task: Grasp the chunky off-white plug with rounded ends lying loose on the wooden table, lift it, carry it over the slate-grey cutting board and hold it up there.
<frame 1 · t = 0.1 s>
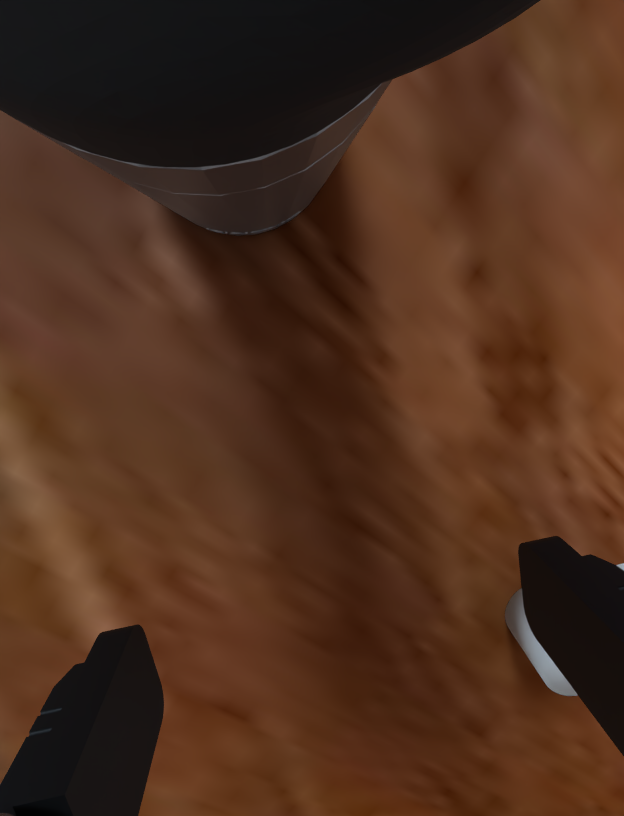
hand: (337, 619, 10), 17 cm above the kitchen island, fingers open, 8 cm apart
rounded plug: (583, 601, 32), on the kitchen island
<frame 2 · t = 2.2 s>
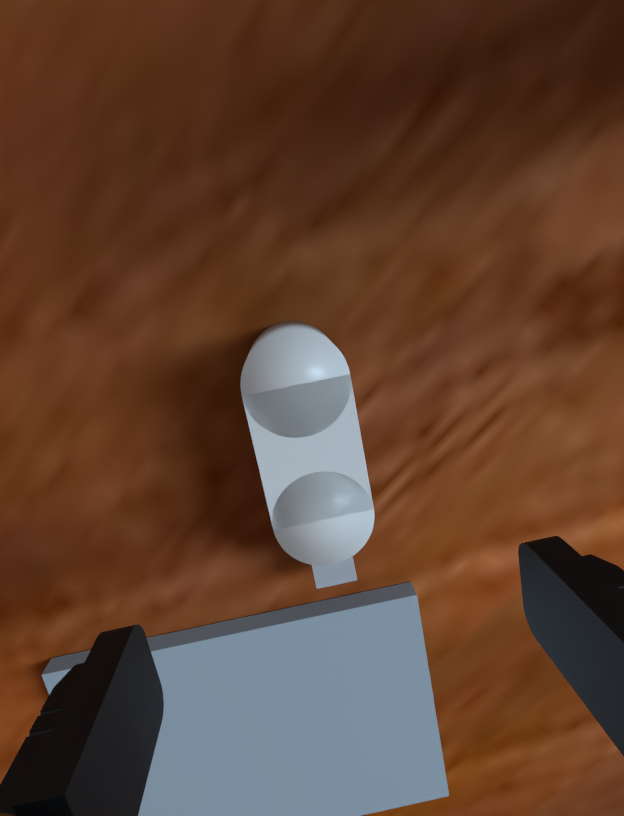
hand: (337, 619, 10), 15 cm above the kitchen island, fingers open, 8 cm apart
rounded plug: (304, 425, 25), on the kitchen island
cutting board: (260, 721, 29), on the kitchen island
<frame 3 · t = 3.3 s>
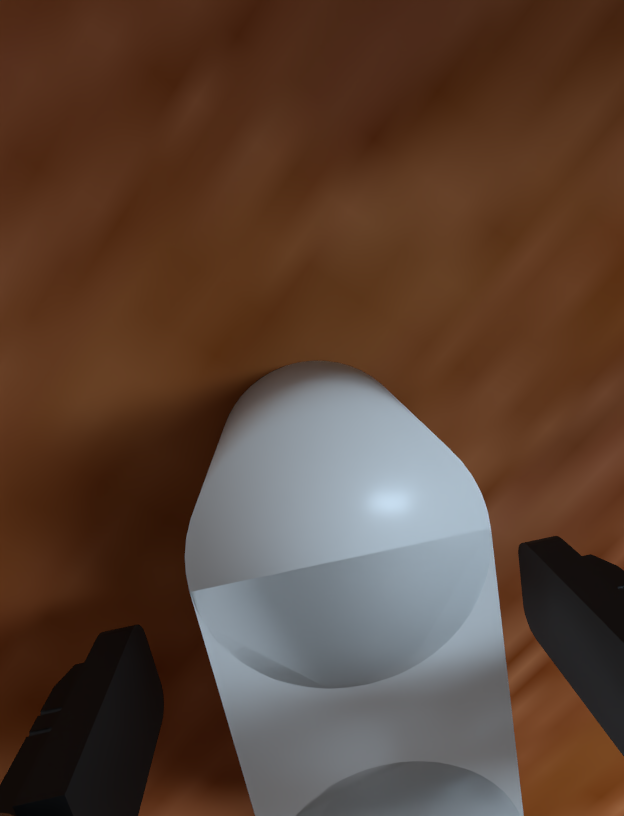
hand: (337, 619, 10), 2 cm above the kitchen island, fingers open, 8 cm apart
rounded plug: (339, 568, 12), on the kitchen island
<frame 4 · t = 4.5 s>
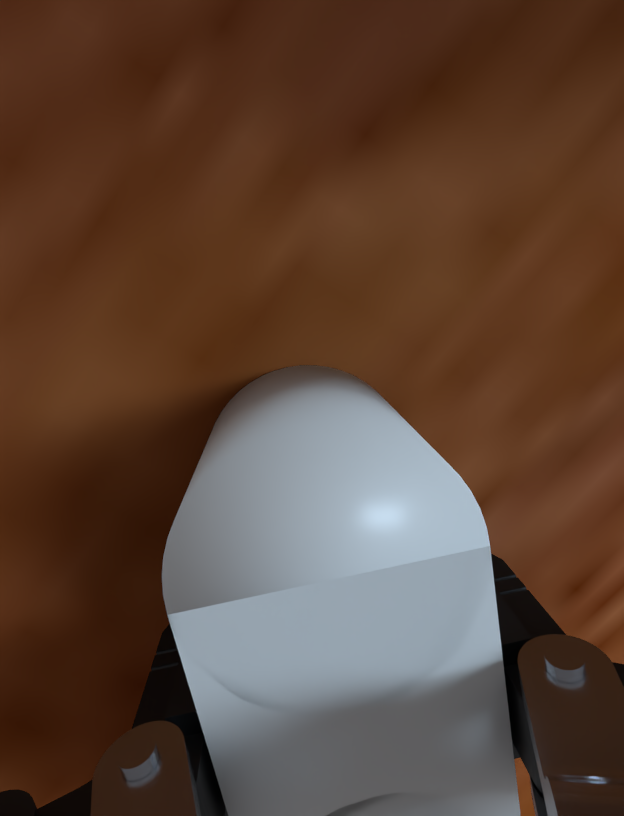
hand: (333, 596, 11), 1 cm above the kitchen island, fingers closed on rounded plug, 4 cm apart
rounded plug: (331, 581, 12), on the kitchen island, touching gripper
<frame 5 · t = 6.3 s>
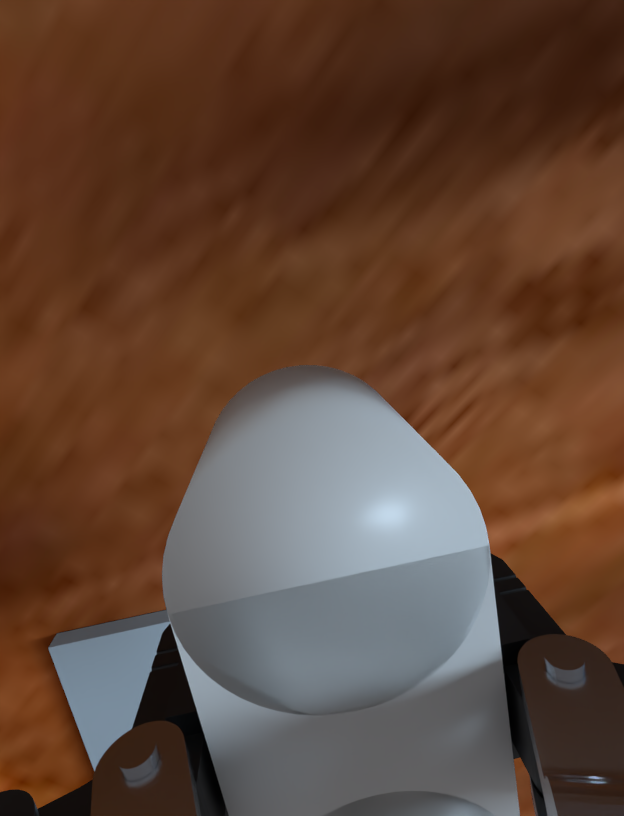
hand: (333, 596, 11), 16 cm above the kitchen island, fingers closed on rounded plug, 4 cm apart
rounded plug: (331, 581, 12), point 16 cm above the kitchen island, touching gripper
cutting board: (252, 693, 31), on the kitchen island
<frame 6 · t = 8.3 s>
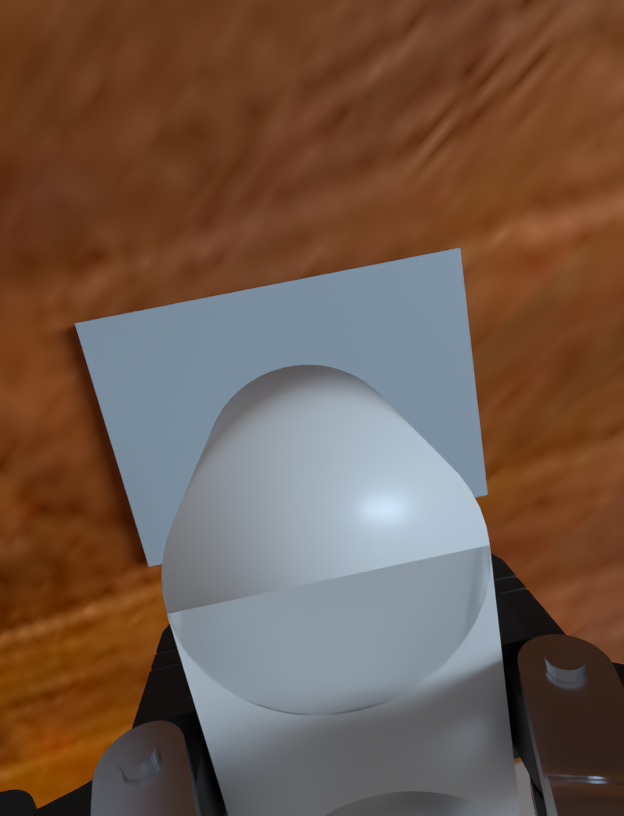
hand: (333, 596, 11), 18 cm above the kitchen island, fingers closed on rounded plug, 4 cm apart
rounded plug: (331, 581, 12), point 17 cm above the kitchen island, touching gripper
cutting board: (295, 410, 28), on the kitchen island
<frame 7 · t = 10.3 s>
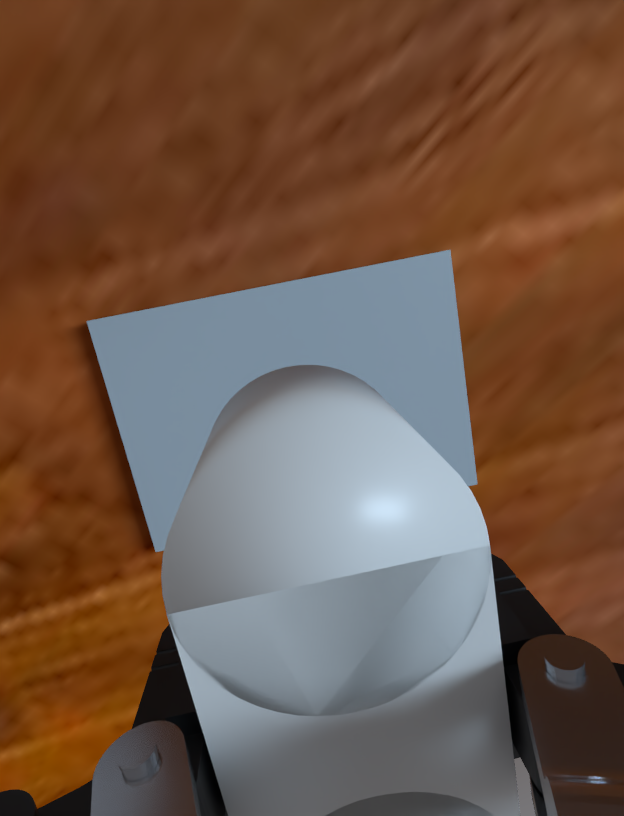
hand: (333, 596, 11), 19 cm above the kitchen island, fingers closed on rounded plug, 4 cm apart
rounded plug: (331, 581, 12), point 19 cm above the kitchen island, touching gripper
cutting board: (294, 403, 30), on the kitchen island
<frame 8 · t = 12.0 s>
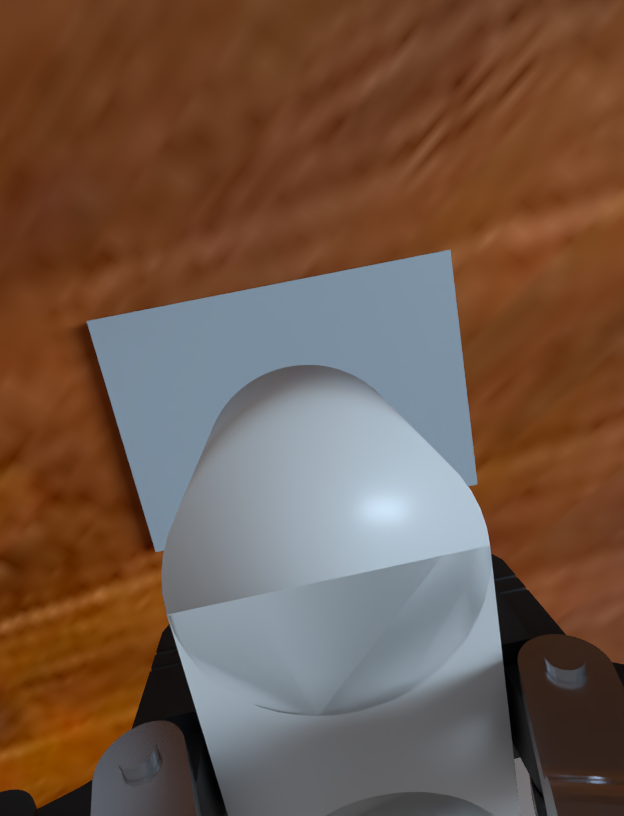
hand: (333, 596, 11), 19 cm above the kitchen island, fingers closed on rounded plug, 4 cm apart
rounded plug: (331, 581, 12), point 19 cm above the kitchen island, touching gripper
cutting board: (294, 403, 30), on the kitchen island
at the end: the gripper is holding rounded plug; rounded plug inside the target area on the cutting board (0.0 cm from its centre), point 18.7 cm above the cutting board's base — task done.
